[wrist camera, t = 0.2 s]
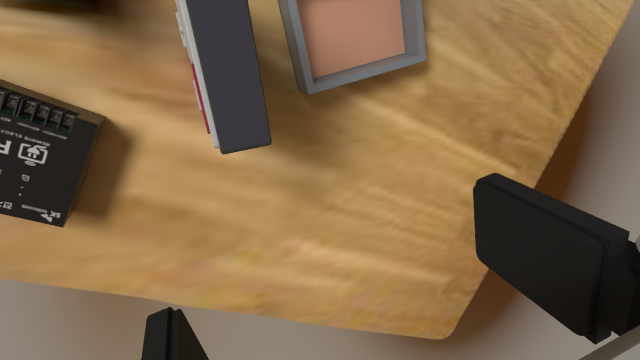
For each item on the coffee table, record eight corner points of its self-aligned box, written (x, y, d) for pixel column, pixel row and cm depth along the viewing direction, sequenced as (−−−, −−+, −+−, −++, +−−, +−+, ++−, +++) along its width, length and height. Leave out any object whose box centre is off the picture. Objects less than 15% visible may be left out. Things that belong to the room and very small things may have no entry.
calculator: (172, -3, 33) (164, -28, 20) (220, -7, 34) (242, -34, 21) (201, 115, 37) (210, 159, 24) (242, 108, 38) (273, 146, 25)
